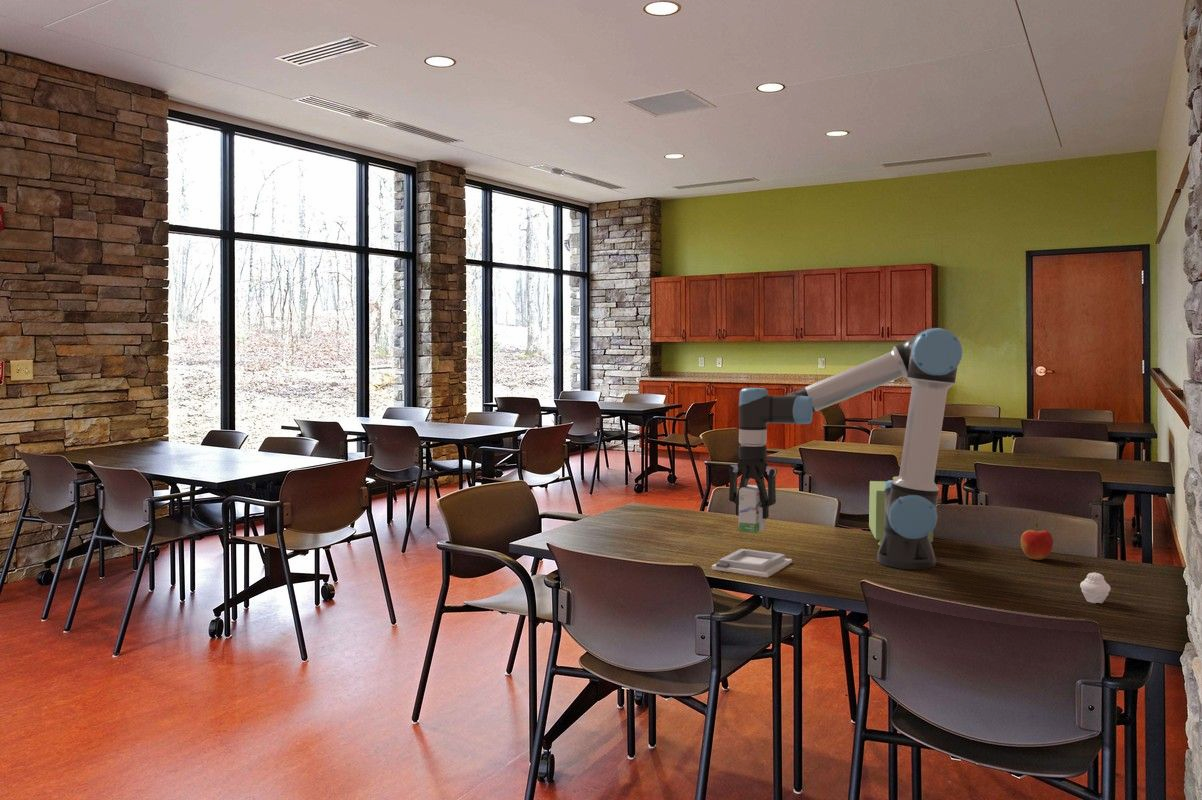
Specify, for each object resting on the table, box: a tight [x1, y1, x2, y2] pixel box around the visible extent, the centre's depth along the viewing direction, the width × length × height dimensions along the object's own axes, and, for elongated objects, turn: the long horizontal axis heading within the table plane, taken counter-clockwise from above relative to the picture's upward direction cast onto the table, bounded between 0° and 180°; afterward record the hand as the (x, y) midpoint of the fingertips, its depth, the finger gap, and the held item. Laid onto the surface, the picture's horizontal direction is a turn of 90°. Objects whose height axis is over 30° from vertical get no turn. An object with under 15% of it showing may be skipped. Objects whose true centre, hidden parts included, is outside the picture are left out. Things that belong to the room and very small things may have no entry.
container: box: [868, 475, 934, 546], centre depth 262 cm, size 19×16×20 cm
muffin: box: [1079, 572, 1112, 604], centre depth 199 cm, size 6×6×7 cm
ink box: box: [738, 484, 762, 534], centre depth 233 cm, size 8×5×12 cm, turn 152°
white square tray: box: [711, 548, 793, 578], centre depth 234 cm, size 16×18×2 cm
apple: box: [1020, 523, 1054, 561], centre depth 239 cm, size 8×8×10 cm
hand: (751, 528), depth 233 cm, fingers closed on ink box, 5 cm apart
